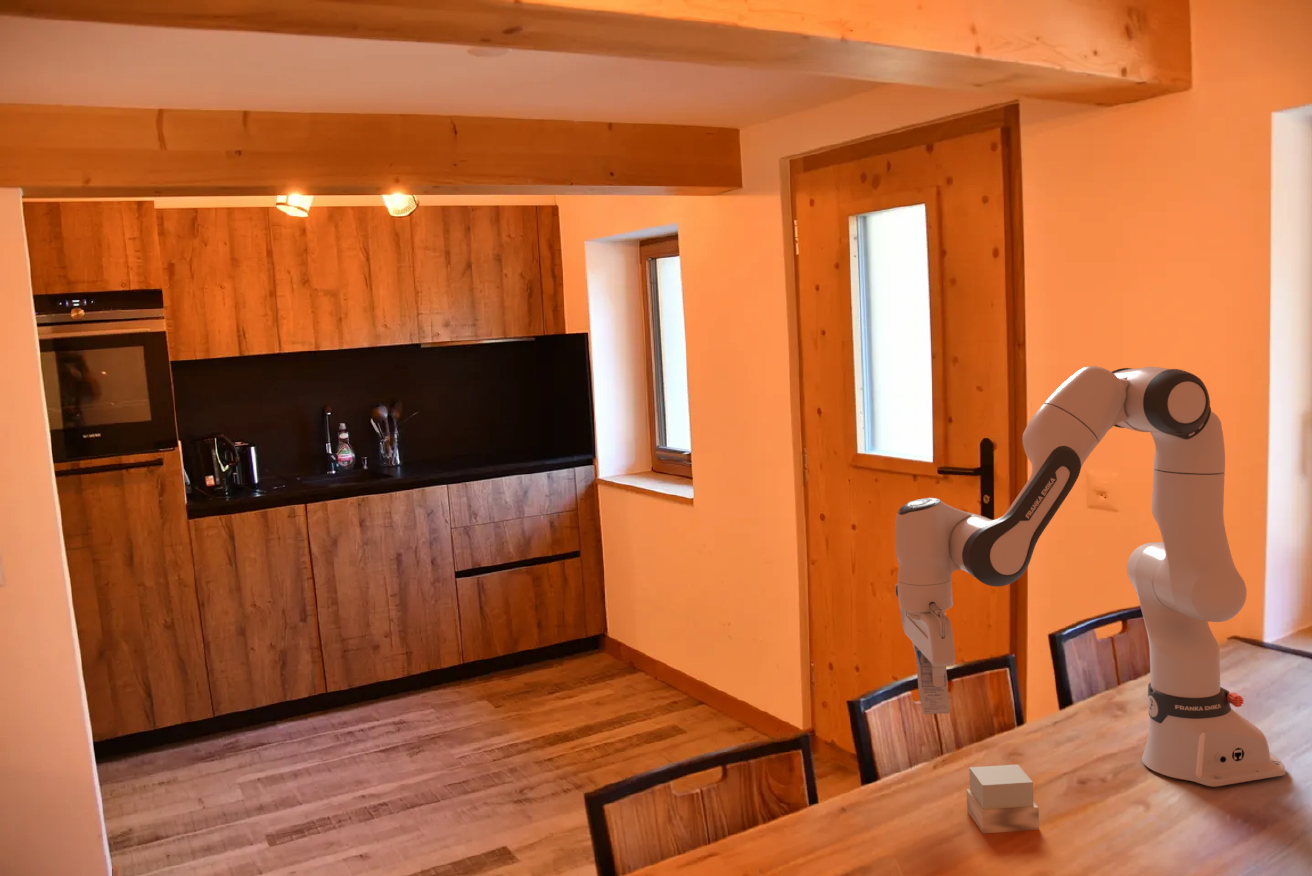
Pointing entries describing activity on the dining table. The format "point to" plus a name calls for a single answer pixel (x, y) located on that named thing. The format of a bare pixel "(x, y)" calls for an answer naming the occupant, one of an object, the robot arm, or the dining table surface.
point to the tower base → (1002, 817)
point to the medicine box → (931, 688)
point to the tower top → (1001, 786)
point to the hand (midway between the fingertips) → (930, 675)
